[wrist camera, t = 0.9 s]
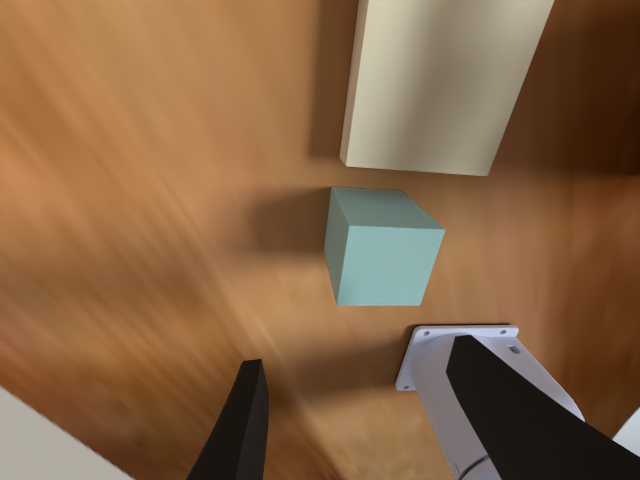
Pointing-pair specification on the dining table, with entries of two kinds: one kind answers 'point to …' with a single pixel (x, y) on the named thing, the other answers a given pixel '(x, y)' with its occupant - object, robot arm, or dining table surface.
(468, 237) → the dining table surface
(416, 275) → the teal block
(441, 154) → the cream block
